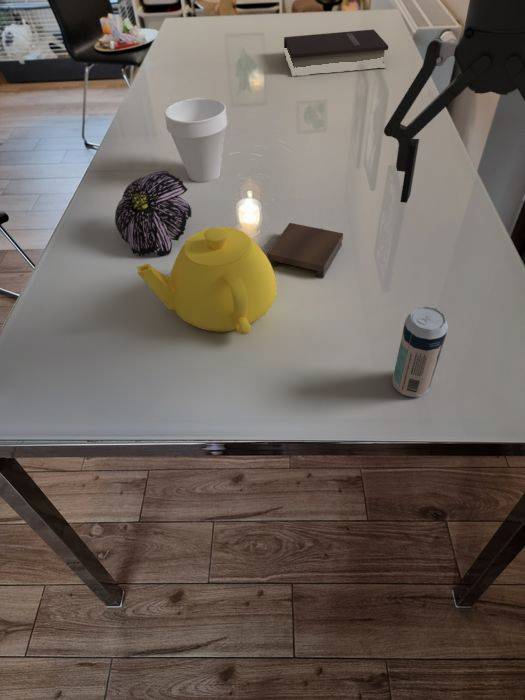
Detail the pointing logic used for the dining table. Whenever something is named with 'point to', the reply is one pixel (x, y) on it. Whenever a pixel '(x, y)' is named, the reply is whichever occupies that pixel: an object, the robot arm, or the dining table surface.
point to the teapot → (217, 281)
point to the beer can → (419, 351)
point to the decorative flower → (152, 213)
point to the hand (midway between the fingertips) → (464, 205)
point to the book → (334, 47)
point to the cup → (198, 135)
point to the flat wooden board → (306, 248)
